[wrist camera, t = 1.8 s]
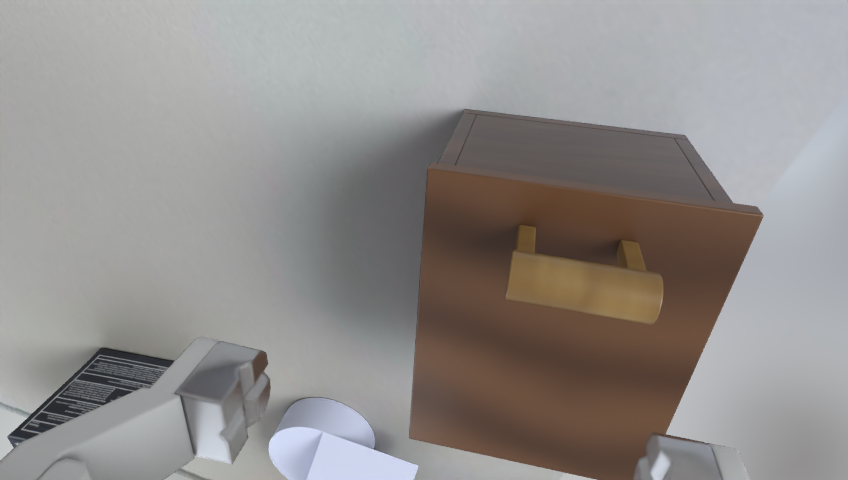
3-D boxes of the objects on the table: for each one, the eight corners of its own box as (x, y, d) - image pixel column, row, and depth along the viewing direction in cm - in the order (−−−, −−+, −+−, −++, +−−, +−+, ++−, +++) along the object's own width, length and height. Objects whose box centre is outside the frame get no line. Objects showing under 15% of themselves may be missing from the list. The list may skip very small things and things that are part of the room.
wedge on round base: (426, 433, 46) (290, 384, 46) (409, 502, 40) (254, 446, 41) (403, 489, 51) (280, 444, 51) (385, 558, 45) (246, 507, 46)
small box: (117, 393, 53) (30, 484, 44) (99, 345, 49) (1, 433, 41) (211, 413, 51) (140, 512, 42) (199, 364, 48) (119, 461, 39)
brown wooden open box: (465, 108, 31) (429, 178, 22) (685, 135, 29) (749, 223, 20) (444, 312, 39) (412, 426, 30) (616, 344, 37) (638, 475, 28)
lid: (430, 161, 21) (401, 215, 17) (757, 205, 19) (815, 278, 15) (411, 427, 30) (388, 508, 25) (638, 476, 28) (654, 572, 24)
